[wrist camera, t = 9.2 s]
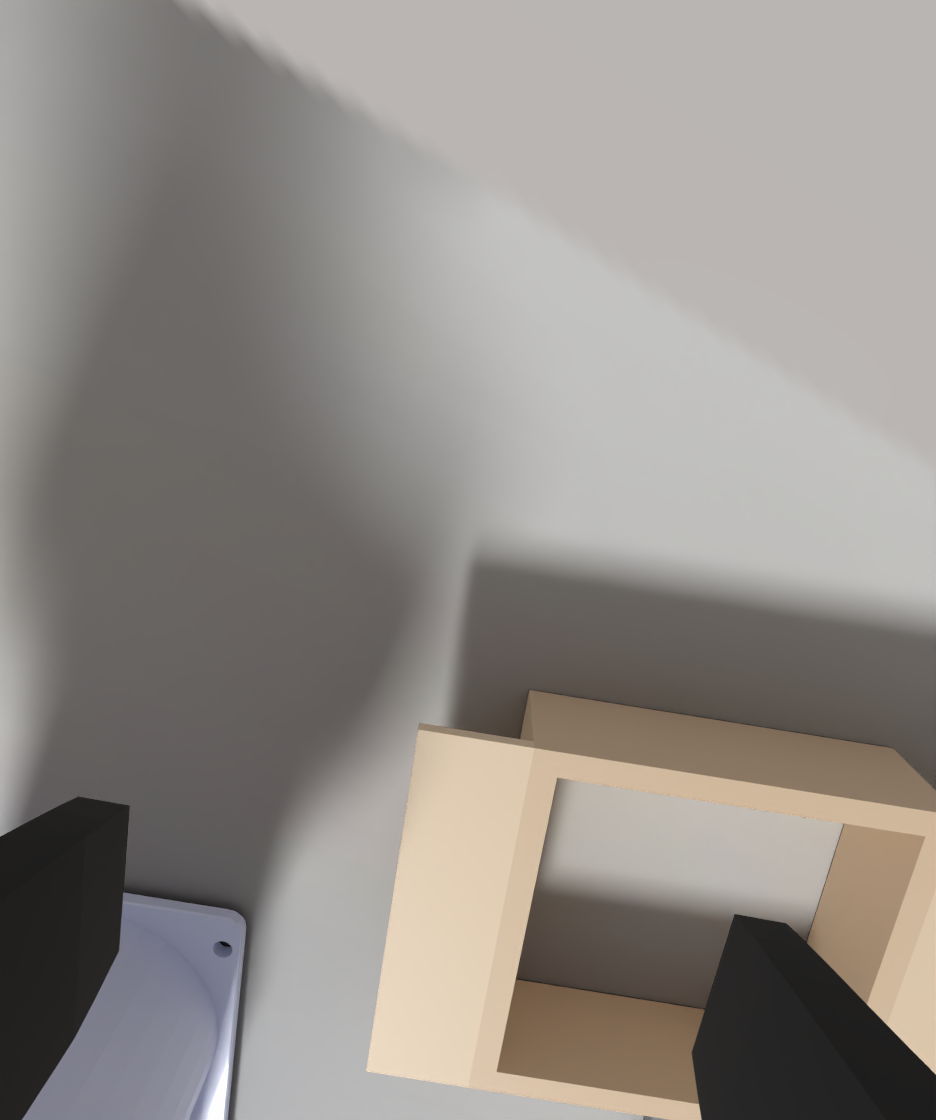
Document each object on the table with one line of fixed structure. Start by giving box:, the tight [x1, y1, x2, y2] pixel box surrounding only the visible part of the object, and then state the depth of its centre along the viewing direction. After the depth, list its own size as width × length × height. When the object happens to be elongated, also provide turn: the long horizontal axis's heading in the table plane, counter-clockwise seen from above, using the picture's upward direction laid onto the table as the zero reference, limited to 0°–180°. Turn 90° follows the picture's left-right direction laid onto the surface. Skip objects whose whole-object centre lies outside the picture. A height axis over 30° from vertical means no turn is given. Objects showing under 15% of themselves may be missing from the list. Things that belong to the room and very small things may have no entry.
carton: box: [366, 690, 936, 1120], centre depth 19 cm, size 9×14×3 cm, turn 81°
